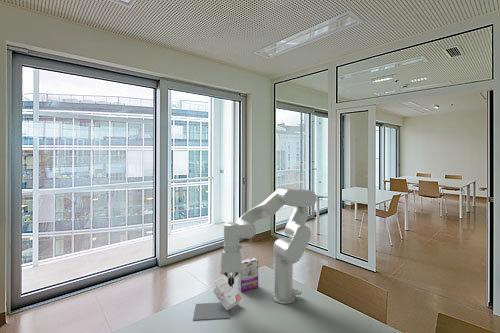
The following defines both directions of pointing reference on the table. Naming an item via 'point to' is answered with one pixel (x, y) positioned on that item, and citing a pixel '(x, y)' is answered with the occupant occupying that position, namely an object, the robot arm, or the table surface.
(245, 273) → the candy bar box
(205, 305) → the mat
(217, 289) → the ink cartridge box
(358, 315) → the table surface
